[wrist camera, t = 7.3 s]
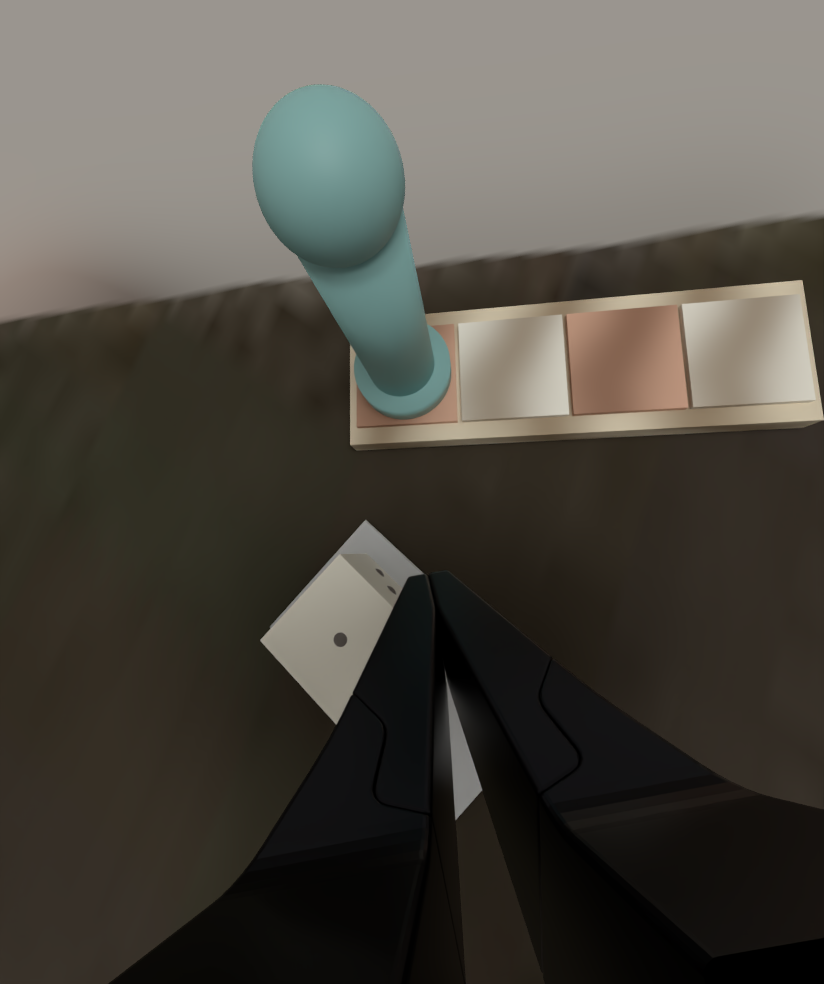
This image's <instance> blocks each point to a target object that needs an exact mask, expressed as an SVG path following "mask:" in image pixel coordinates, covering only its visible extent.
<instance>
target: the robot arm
mask: <svg viewBox="0 0 824 984" xmlns="http://www.w3.org/2000/svg"><path fill="white" fill-rule="evenodd" d="M445 673H446V676H445ZM446 678H447V682H448V685H449V689H450V692H451V696H452V699H453V702H454V705H455V708H456V711H457V714H458V717H459V720H460V723H461V726H462V729H463V732H464V735H465V738H466V742H467V745H468V748H469V751H470V754H471V757H472V760H473V763H474V766H475V769H476V772H477V775H478V778H479V781H480V785H481V788H482V791H483V794H484V797H485V800H486V803H487V806H488V809H489V812H490V815H491V818H492V821H493V824H494V828H495V831H496V834H497V837H498V840H499V843H500V846H501V849H502V852H503V855H504V858H505V861H506V864H507V867H508V871H509V874H510V877H511V880H512V883H513V886H514V889H515V892H516V895H517V898H518V901H519V904H520V907H521V910H522V914H523V917H524V920H525V923H526V926H527V929H528V932H529V935H530V938H531V941H532V944H533V947H534V950H535V953H536V957H537V960H538V963H539V966H540V969H541V971H542V973H543V978H544V981H545V984H824V810H823V809H819V808H815V807H811V806H807V805H802V804H798V803H794V802H790V801H786V800H782V799H777V798H773V797H770V796H766V795H762V794H759V793H757V792H754V791H751V790H748V789H746V788H744V787H742V786H740V785H737V784H735V783H733V782H731V781H729V780H727V779H726V778H724V777H722V776H720V775H718V774H716V773H715V772H713V771H712V770H710V769H708V768H707V767H705V766H704V765H702V764H700V763H699V762H697V761H696V760H694V759H693V758H692V757H690V756H689V755H687V754H686V753H684V752H683V751H681V750H680V749H678V748H677V747H675V746H674V745H672V744H671V743H669V742H668V741H666V740H665V739H663V738H662V737H660V736H659V735H657V734H656V733H654V732H653V731H651V730H650V729H648V728H647V727H645V726H644V725H642V724H641V723H640V722H638V721H637V720H635V719H634V718H632V717H631V716H629V715H628V714H626V713H625V712H623V711H622V710H620V709H619V708H618V707H616V706H615V705H613V704H612V703H610V702H609V701H608V700H606V699H605V698H603V697H602V696H601V695H599V694H598V693H596V692H595V691H594V690H592V689H591V688H590V687H588V686H587V685H586V684H585V683H583V682H582V681H581V680H580V679H578V678H577V677H576V676H574V675H573V674H572V673H571V672H569V671H568V670H567V669H566V668H565V667H563V666H562V665H561V664H560V663H559V662H557V661H556V660H555V659H553V660H552V657H551V656H550V655H549V654H548V653H546V652H545V651H544V650H543V649H542V648H540V647H539V646H538V645H537V644H536V643H535V642H533V641H532V640H531V639H530V638H529V637H527V636H526V635H525V634H524V633H523V632H521V631H520V630H519V629H518V628H517V627H515V626H514V625H513V624H512V623H511V622H509V621H508V620H507V619H506V618H505V617H503V616H502V615H501V614H500V613H499V612H497V611H496V610H495V609H494V608H493V607H491V606H490V605H489V604H488V603H487V602H485V601H484V600H483V599H482V598H481V597H479V596H478V595H477V594H476V593H475V592H473V591H472V590H471V589H470V588H469V587H468V586H466V585H465V584H464V583H463V582H462V581H460V580H459V579H458V578H457V577H456V576H454V575H453V574H452V573H451V572H450V571H448V570H444V571H438V572H432V573H430V574H429V577H428V575H427V574H420V575H414V576H409V577H408V578H407V580H406V582H405V584H404V586H403V588H402V590H401V593H400V595H399V597H398V599H397V601H396V603H395V605H394V607H393V609H392V611H391V613H390V615H389V618H388V620H387V622H386V624H385V626H384V628H383V630H382V632H381V634H380V636H379V638H378V640H377V643H376V645H375V647H374V649H373V651H372V653H371V655H370V657H369V659H368V661H367V663H366V665H365V667H364V670H363V672H362V674H361V676H360V678H359V680H358V682H357V684H356V686H355V688H354V690H353V695H351V696H350V698H349V700H348V702H347V705H346V707H345V709H344V711H343V713H342V715H341V717H340V719H339V721H338V723H337V724H336V726H335V728H334V730H333V732H332V734H331V736H330V738H329V740H328V741H327V743H326V745H325V746H324V748H323V750H322V751H321V753H320V755H319V756H318V758H317V760H316V761H315V763H314V765H313V766H312V768H311V769H310V771H309V773H308V774H307V776H306V777H305V779H304V781H303V782H302V784H301V785H300V787H299V788H298V790H297V792H296V793H295V795H294V796H293V798H292V799H291V801H290V803H289V804H288V806H287V807H286V809H285V810H284V812H283V814H282V815H281V817H280V818H279V820H278V821H277V823H276V825H275V826H274V828H273V829H272V831H271V832H270V834H269V836H268V837H267V839H266V840H265V842H264V844H263V845H262V847H261V848H260V850H259V851H258V853H257V854H256V856H255V857H254V859H253V860H252V861H251V863H250V864H249V865H248V867H247V868H246V869H245V870H244V872H243V873H242V874H241V875H240V877H239V878H238V879H237V880H236V881H235V882H234V883H233V885H232V886H231V887H230V888H229V889H228V890H227V891H226V892H225V893H224V894H223V895H222V896H221V897H220V898H218V899H217V900H216V901H215V902H214V903H212V904H211V905H210V906H208V907H207V908H206V909H205V910H203V911H202V912H201V913H199V914H198V915H197V916H195V917H194V918H193V919H192V920H190V921H189V922H188V923H186V924H185V925H184V926H183V927H181V928H180V929H179V930H177V931H176V932H175V933H173V934H172V935H171V936H170V937H168V938H167V939H166V940H164V941H163V942H162V943H160V944H159V945H158V946H157V947H155V948H154V949H153V950H151V951H150V952H149V953H148V954H146V955H145V956H144V957H142V958H141V959H140V960H138V961H137V962H136V963H135V964H133V965H132V966H131V967H129V968H128V969H127V970H125V971H124V972H123V973H122V974H120V975H119V976H118V977H116V978H115V979H114V980H113V981H111V982H110V983H109V984H466V980H465V964H464V948H463V932H462V917H461V901H460V885H459V869H458V853H457V837H456V821H455V805H454V789H453V773H452V757H451V741H450V725H449V709H448V693H447V683H446Z"/></svg>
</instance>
